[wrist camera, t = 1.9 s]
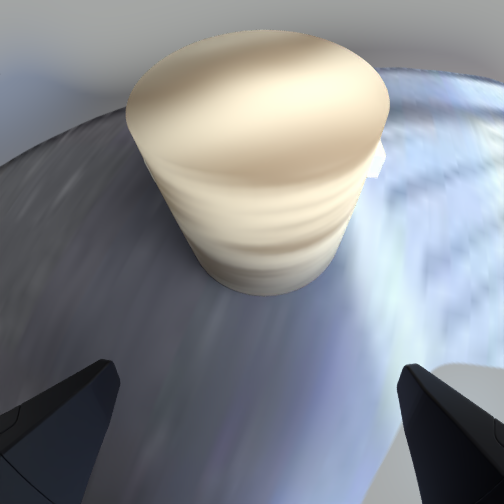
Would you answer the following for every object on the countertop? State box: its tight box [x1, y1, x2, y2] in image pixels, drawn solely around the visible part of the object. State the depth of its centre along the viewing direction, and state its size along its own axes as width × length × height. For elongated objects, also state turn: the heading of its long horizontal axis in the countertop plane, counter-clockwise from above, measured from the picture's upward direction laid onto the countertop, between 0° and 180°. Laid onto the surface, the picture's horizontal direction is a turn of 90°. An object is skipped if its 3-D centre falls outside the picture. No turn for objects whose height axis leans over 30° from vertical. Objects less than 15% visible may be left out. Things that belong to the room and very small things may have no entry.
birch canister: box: [126, 30, 390, 296], centre depth 15 cm, size 10×10×11 cm
